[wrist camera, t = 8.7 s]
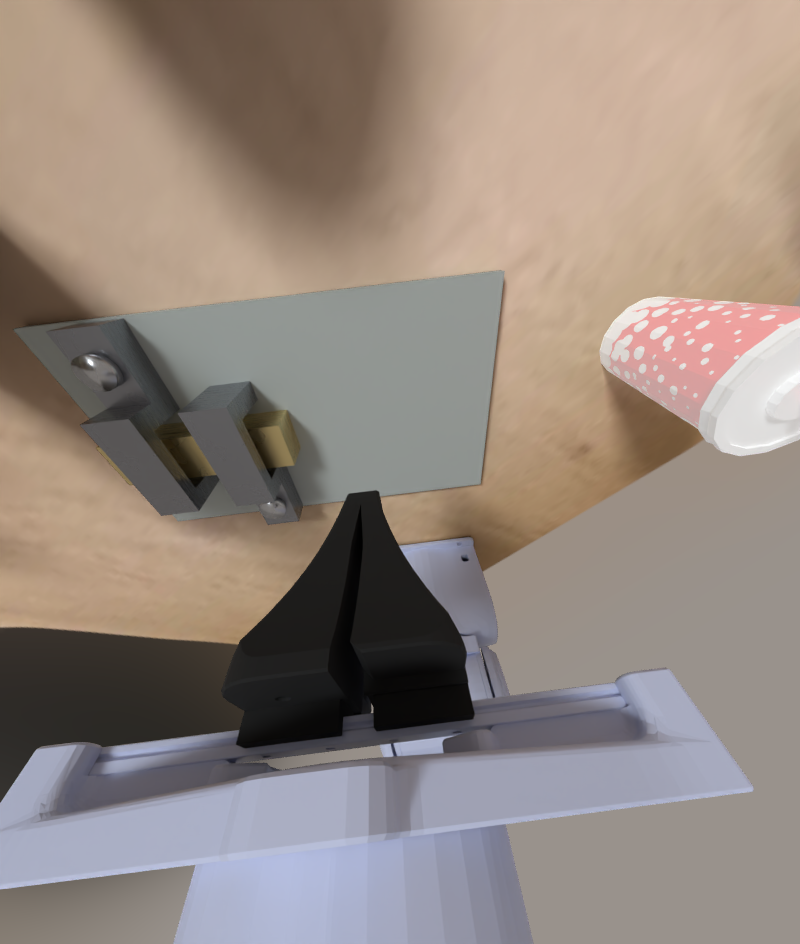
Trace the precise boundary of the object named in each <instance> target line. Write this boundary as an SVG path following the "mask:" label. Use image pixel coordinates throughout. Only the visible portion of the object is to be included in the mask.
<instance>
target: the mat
mask: <svg viewBox="0 0 800 944" xmlns="http://www.w3.org/2000/svg"><path fill="white" fill-rule="evenodd" d="M503 280H504V271H501V270H499V271H491V272H482V273H474V274H465V275H457V276H449V277H440V278H432V279H423V280H415V281H406V282H398V283H389V284H381V285H372V286H364V287H355V288H347V289H338V290H330V291H321V292H313V293H304V294H296V295H287V296H279V297H270V298H262V299H253V300H245V301H237V302H228V303H220V304H211V305H203V306H194V307H186V308H177V309H169V310H160V311H152V312H143V313H135V314H126V315H118V316H109V317H101V318H92V319H84V320H75V321H67V322H58V323H50V324H41V325H33V326H25V327H20V328H15V329H13V330H14V331H15V332H16V334H17V335H18V336H19V337H20V338H21V339H22V341H23V342H24V343H25V344H26V345H27V346H28V348H29V349H30V350H31V351H32V352H33V353H34V355H35V356H36V357H37V358H38V359H39V360H40V362H41V363H42V364H43V365H44V366H45V367H46V368H47V370H48V371H49V372H50V373H51V374H52V375H53V377H54V378H55V379H56V380H57V381H58V382H59V384H60V385H61V386H62V387H63V388H64V389H65V391H66V392H67V393H68V394H69V395H70V396H71V397H72V399H73V400H74V401H75V402H76V403H77V404H78V406H79V407H80V408H81V409H82V410H83V411H84V413H85V414H86V415H87V416H88V417H89V418H90V419H91V418H92V417H94V416H96V415H97V414H99V413H101V412H102V411H104V410H106V409H107V408H106V407H105V406H104V404H103V403H102V402H101V401H100V399H99V398H98V397H97V396H96V394H95V393H94V392H93V391H92V389H91V388H90V387H88V386H86V385H85V384H83V383H82V382H81V381H80V380H79V379H78V378H77V377H76V376H75V374H74V373H73V371H72V368H71V363H70V362H69V361H68V359H67V358H66V357H65V356H64V354H63V353H62V352H61V351H60V349H59V348H58V347H57V346H56V344H55V343H54V342H53V341H52V339H51V338H50V337H49V336H48V334H47V333H46V331H50V330H54V329H58V328H62V327H66V326H70V325H74V324H79V323H88V322H96V321H104V320H113V319H121V318H124V320H125V321H126V323H127V324H128V326H129V328H130V329H131V331H132V332H133V334H134V336H135V337H136V339H137V340H138V342H139V344H140V345H141V347H142V348H143V350H144V352H145V353H146V355H147V356H148V358H149V360H150V361H151V363H152V364H153V366H154V368H155V369H156V371H157V372H158V374H159V376H160V377H161V379H162V380H163V382H164V384H165V385H166V387H167V388H168V390H169V392H170V393H171V395H172V396H173V398H174V400H175V401H176V403H177V404H178V406H179V408H180V409H179V410H178V411H177V412H176V413H175V414H173V415H172V416H171V417H170V418H169V419H167V420H166V421H165V422H164V423H163V424H171V423H179V422H183V421H182V420H181V418H180V417H179V415H178V414H177V413H178V412H179V411H181V410H182V409H183V408H184V407H185V406H187V405H188V404H189V403H190V402H191V401H192V400H194V399H195V398H196V397H197V396H198V395H200V394H201V393H202V392H203V391H204V390H205V389H207V388H208V387H209V386H214V385H222V384H230V383H239V382H247V381H250V382H251V385H252V387H253V389H254V392H255V394H256V396H257V398H258V400H257V401H256V403H255V404H254V405H253V407H252V408H251V409H250V411H249V412H248V413H247V414H254V413H263V412H271V411H279V410H287V411H288V414H289V416H290V419H291V422H292V425H293V427H294V430H295V433H296V435H297V438H298V441H299V443H300V446H301V448H300V451H299V454H298V457H297V460H296V463H295V465H293V466H287V468H288V471H289V473H290V475H291V478H292V480H293V482H294V485H295V487H296V489H297V492H298V494H299V496H300V499H301V501H302V503H303V506H306V505H315V504H323V503H331V502H339V501H345V500H346V497H347V495H348V494H349V493H357V492H365V491H374V490H377V491H379V494H380V496H388V495H396V494H404V493H412V492H420V491H429V490H437V489H445V488H453V487H461V486H469V485H477V484H480V483H481V475H482V466H483V457H484V448H485V439H486V430H487V422H488V413H489V404H490V395H491V386H492V377H493V368H494V360H495V351H496V342H497V333H498V324H499V315H500V307H501V298H502V289H503ZM163 424H161V425H163ZM258 511H259V508H258V506H257V505H256V504H253V505H245V506H236V504H235V503H234V501H233V500H232V498H231V497H230V495H229V493H228V492H227V490H226V489H225V487H224V486H223V484H222V482H221V481H220V480H219V482H218V483H217V485H216V486H215V488H214V489H213V491H212V492H211V494H210V495H209V497H208V498H207V500H206V501H205V503H204V505H203V506H202V508H201V509H200V511H196V512H188V513H180V514H172V515H173V516H174V517H175V518H176V519H177V521H184V520H192V519H201V518H209V517H217V516H225V515H233V514H241V513H249V512H258Z"/></svg>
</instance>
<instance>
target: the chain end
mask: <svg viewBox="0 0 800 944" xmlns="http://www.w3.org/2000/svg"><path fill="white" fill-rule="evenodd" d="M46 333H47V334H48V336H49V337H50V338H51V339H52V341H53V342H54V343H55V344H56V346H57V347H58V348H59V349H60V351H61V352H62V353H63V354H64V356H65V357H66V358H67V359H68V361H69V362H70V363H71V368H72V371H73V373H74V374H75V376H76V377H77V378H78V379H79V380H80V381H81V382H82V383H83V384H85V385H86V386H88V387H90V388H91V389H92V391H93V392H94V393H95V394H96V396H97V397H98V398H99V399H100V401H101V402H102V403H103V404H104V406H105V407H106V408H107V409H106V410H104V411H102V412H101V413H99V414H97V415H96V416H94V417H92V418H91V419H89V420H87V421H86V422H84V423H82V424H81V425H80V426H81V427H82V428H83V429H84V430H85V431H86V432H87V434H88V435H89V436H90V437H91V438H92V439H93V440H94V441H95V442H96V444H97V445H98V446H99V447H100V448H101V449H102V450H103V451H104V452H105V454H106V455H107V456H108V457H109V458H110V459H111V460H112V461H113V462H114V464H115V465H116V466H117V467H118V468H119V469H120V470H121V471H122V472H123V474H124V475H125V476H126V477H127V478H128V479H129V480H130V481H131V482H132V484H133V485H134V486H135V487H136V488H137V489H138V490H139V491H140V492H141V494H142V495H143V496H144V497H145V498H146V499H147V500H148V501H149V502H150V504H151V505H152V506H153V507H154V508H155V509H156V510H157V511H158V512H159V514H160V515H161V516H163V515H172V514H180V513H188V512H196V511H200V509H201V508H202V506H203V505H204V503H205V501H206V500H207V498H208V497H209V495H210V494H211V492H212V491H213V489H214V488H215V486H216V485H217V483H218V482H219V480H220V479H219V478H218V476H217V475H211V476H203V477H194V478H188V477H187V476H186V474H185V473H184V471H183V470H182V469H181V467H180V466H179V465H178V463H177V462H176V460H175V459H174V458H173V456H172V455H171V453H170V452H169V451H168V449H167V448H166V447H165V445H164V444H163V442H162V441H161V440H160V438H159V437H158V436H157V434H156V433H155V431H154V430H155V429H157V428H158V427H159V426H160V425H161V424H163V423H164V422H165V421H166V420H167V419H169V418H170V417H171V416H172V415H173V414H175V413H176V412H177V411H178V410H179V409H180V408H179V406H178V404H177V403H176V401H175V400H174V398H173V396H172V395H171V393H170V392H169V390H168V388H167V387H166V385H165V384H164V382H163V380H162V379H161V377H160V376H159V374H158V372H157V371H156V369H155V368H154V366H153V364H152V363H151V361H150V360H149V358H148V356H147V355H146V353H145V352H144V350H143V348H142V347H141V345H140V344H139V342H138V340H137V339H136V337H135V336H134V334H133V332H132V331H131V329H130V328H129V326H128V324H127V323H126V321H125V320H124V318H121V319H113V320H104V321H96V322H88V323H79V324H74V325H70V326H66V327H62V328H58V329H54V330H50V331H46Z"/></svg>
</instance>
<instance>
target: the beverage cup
mask: <svg viewBox="0 0 800 944" xmlns="http://www.w3.org/2000/svg"><path fill="white" fill-rule="evenodd" d="M600 358H601V363H602V365H603V366H604V367H605V368H606V370H607V371H609V372H610V373H612V374H613V375H615V376H617V377H618V378H620V379H621V380H623V381H624V382H626V383H627V384H629V385H630V386H632V387H634V388H635V389H637V390H638V391H640V392H641V393H643V394H644V395H646V396H647V397H649V398H651V399H652V400H654V401H655V402H657V403H658V404H660V405H661V406H663V407H664V408H666V409H668V410H669V411H671V412H672V413H674V414H675V415H677V416H678V417H680V418H681V419H683V420H685V421H686V422H688V423H689V424H691V425H692V426H694V427H695V428H697V429H698V430H699V432H700V433H701V435H702V436H703V438H704V439H705V441H706V442H708V443H711V444H714V446H715V447H716V449H718V450H720V451H721V452H725V453H729V454H733V455H737V456H744V455H751V454H758V453H764V452H768V451H771V450H773V449H776V448H779V447H781V446H784V445H787V444H789V443H792V442H794V441H797V440H799V439H800V307H796V306H782V305H768V304H755V303H741V302H727V301H713V300H699V299H686V298H672V297H653V298H647V299H643V300H641V301H639V302H637V303H636V304H634V305H632V306H630V307H628V308H627V309H626V310H625V311H624V312H623V313H622V314H621V315H620V316H619V317H617V318H616V319H615V320H614V321H613V323H612V325H611V326H610V328H609V329H608V331H607V332H606V334H605V335H604V338H603V341H602V345H601V348H600Z"/></svg>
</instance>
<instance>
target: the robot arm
mask: <svg viewBox="0 0 800 944" xmlns="http://www.w3.org/2000/svg"><path fill="white" fill-rule="evenodd" d="M473 544H474V541H473V538H471V537H465V538H457V539H449V540H441V541H433V542H425V543H417V544H409V545H400V546H399V545H398V543H397V542H396V540H395V538H394V536H393V534H392V532H391V530H390V528H389V525H388V523H387V520H386V518H385V515H384V513H383V510H382V504H381V499H380V494H379V491H377V490H374V491H365V492H357V493H349V494H348V495H347V497H346V500H345V502H344V504H343V507H342V509H341V511H340V513H339V515H338V518H337V519H336V521H335V523H334V525H333V527H332V529H331V531H330V533H329V535H328V536H327V538H326V540H325V541H324V543H323V545H322V546H321V548H320V550H319V551H318V553H317V554H316V556H315V557H314V559H313V560H312V562H311V563H310V564H309V566H308V567H307V569H306V570H305V571H304V573H303V574H302V575H301V576H300V578H299V579H298V580H297V582H296V583H295V584H294V585H293V586H292V588H291V589H290V590H289V591H288V592H287V594H286V595H285V596H284V597H283V598H282V599H281V600H280V601H279V602H278V603H277V605H276V606H275V607H274V608H273V609H272V610H271V611H270V612H269V613H268V614H267V615H266V616H265V617H264V618H263V619H262V620H261V621H260V622H259V623H258V624H257V625H256V626H255V627H254V628H253V629H252V630H251V631H250V632H249V633H248V634H247V635H246V636H245V637H243V638H242V639H241V640H240V642H239V644H238V647H237V649H236V651H235V653H234V655H233V658H232V660H231V663H230V666H229V669H228V672H227V675H226V678H225V681H224V684H223V687H222V690H221V692H222V695H223V697H224V698H225V699H226V700H227V701H229V702H230V703H232V704H234V705H235V706H237V707H239V708H240V709H242V710H244V711H245V712H244V716H243V720H242V723H241V727H240V730H236V731H228V732H221V733H214V734H205V735H197V736H189V737H182V738H173V739H165V740H158V741H150V742H142V743H134V744H126V745H118V746H110V747H103V748H102V747H101V746H100V745H96V744H93V743H86V742H83V743H82V742H76V743H67V744H59V745H51V746H43V747H40V748H38V749H37V750H36V751H35V752H34V754H33V755H32V757H31V759H30V760H29V761H28V763H27V764H26V766H25V767H24V769H23V770H22V772H21V773H20V775H19V776H18V778H17V779H16V781H15V782H14V784H13V785H12V787H11V788H10V790H9V791H8V793H7V794H6V796H5V797H4V799H3V800H2V802H1V803H0V889H6V888H14V887H22V886H30V885H38V884H46V883H54V882H61V881H69V880H77V879H85V878H93V877H101V876H109V875H117V874H124V873H133V872H140V871H148V870H156V869H164V868H172V867H180V866H188V865H196V866H195V869H194V873H193V876H192V880H191V883H190V887H189V890H188V894H187V898H186V901H185V904H184V908H183V911H182V915H181V918H180V922H179V925H178V929H177V933H176V936H175V940H174V943H173V944H534V943H533V939H532V935H531V931H530V927H529V922H528V918H527V914H526V909H525V905H524V901H523V896H522V893H521V888H520V884H519V879H518V875H517V871H516V867H515V863H514V858H513V854H512V850H511V845H510V841H509V837H508V832H507V828H506V824H510V823H517V822H525V821H532V820H540V819H547V818H555V817H563V816H570V815H577V814H585V813H592V812H600V811H608V810H615V809H623V808H630V807H638V806H645V805H653V804H660V803H668V802H675V801H682V800H690V799H697V798H706V797H713V796H721V795H729V794H736V793H743V792H752V791H753V788H754V787H753V785H752V784H751V782H750V781H749V780H748V778H747V777H746V776H745V774H744V773H743V771H742V770H741V768H740V767H739V766H738V764H737V763H736V761H735V760H734V759H733V757H732V756H731V754H730V753H729V752H728V750H727V749H726V747H725V746H724V744H723V743H722V742H721V740H720V739H719V738H718V736H717V735H716V733H715V732H714V730H713V729H712V728H711V726H710V725H709V723H708V722H707V721H706V719H705V718H704V716H703V715H702V714H701V712H700V711H699V709H698V708H697V707H696V705H695V704H694V702H693V701H692V700H691V699H690V697H689V695H688V694H687V693H686V691H685V690H684V688H683V687H682V686H681V685H680V683H679V681H678V680H677V679H676V677H675V676H674V675H673V673H672V672H671V670H670V669H668V668H657V669H649V670H641V671H634V672H629V673H626V674H623V675H621V676H619V677H618V678H617V680H616V681H615V682H614V683H607V684H598V685H590V686H582V687H575V688H567V689H558V690H551V691H543V692H535V693H527V694H520V695H512V696H510V694H509V691H508V688H507V684H506V681H505V678H504V675H503V672H502V669H501V666H500V663H499V661H498V658H497V655H496V654H495V653H494V652H493V651H492V650H489V648H488V647H487V646H489V645H493V644H495V643H496V642H497V637H498V629H497V621H496V615H495V611H494V606H493V602H492V599H491V596H490V593H489V590H488V587H487V584H486V581H485V578H484V575H483V572H482V570H481V567H480V564H479V561H478V558H477V555H476V552H475V549H474V546H473ZM479 648H481V652H482V656H483V660H484V661H483V660H482V656H481V653H480V649H479ZM483 662H484V663H483ZM484 666H485V667H484ZM371 704H372V705H373V707H374V710H373V713H371ZM376 745H380V749H381V751H382V754H383V758H369V759H360V760H350V761H340V762H332V763H325V764H317V765H310V766H304V767H297V768H291V769H285V770H279V769H276V768H273V767H270V766H269V765H268V764H267V763H243V762H251V761H259V760H266V759H274V758H282V757H290V756H298V755H306V754H313V753H322V752H329V751H337V750H345V749H352V748H361V747H368V746H376Z"/></svg>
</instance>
